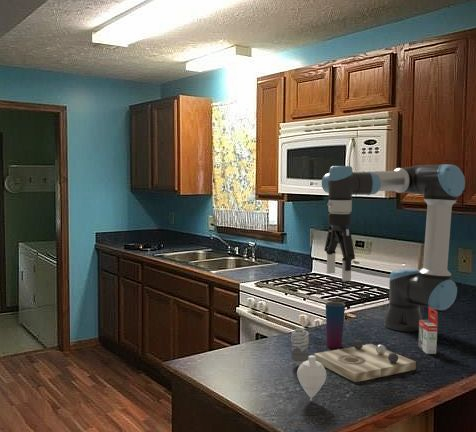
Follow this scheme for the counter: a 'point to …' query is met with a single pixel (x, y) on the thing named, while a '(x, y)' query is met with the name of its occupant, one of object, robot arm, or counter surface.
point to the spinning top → (311, 376)
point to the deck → (363, 363)
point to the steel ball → (381, 349)
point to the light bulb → (298, 352)
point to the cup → (334, 323)
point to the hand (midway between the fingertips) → (338, 276)
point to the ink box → (428, 332)
